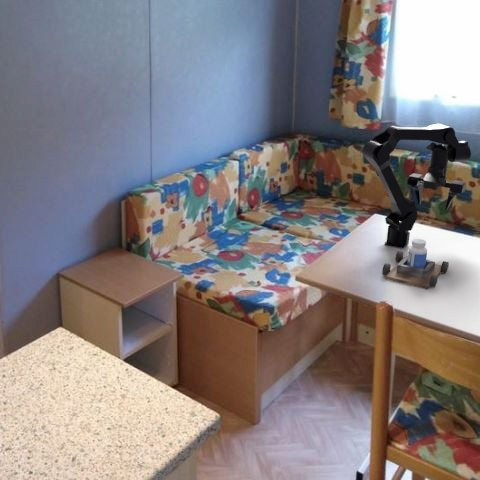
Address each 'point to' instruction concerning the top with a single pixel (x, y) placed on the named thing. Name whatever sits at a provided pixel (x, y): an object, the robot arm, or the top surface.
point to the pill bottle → (417, 254)
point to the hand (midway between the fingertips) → (432, 207)
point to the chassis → (414, 272)
